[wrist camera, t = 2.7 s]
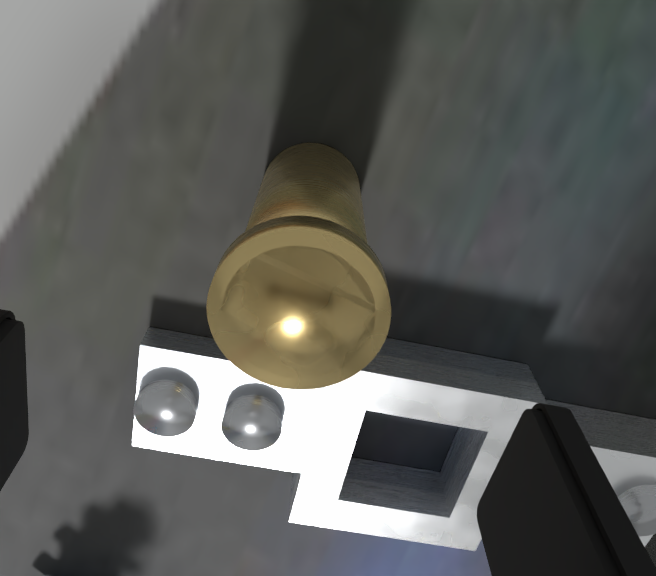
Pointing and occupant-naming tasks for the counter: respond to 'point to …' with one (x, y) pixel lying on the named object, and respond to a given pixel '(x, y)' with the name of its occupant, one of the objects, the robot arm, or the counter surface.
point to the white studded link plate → (344, 424)
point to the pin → (302, 278)
